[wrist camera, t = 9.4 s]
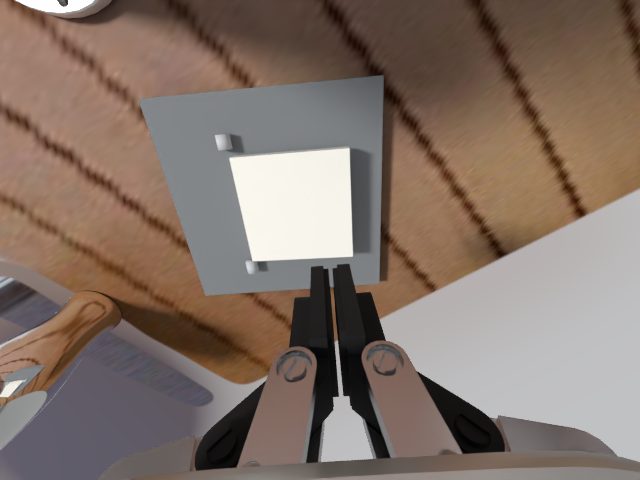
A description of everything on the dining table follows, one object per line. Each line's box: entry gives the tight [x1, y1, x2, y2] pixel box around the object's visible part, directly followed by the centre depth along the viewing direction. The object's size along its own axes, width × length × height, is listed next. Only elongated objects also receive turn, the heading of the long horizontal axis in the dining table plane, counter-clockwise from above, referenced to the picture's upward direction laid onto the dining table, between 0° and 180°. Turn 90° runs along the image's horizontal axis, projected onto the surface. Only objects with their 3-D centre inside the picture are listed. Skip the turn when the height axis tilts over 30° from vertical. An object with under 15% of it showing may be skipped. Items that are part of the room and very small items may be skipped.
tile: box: [229, 146, 353, 261], centre depth 24 cm, size 10×2×10 cm
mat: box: [138, 75, 384, 295], centre depth 25 cm, size 20×20×2 cm
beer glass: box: [0, 291, 121, 450], centre depth 25 cm, size 7×7×15 cm
